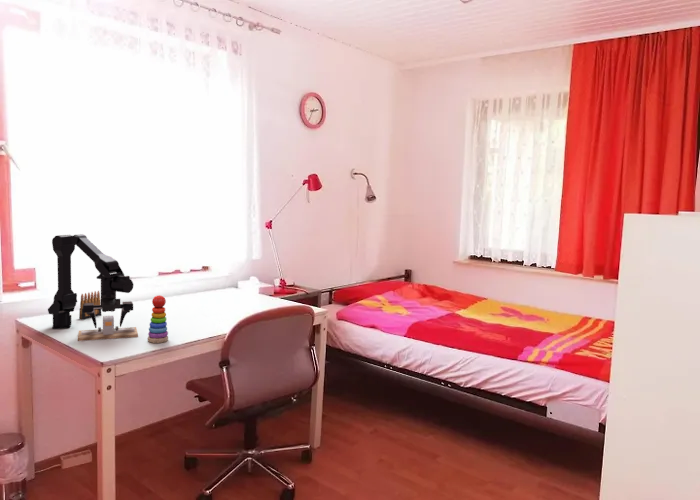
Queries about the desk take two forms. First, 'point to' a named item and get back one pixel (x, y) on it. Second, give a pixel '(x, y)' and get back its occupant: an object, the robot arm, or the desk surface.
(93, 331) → the rail base
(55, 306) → the robot arm
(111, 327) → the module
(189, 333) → the desk surface
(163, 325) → the stacking toy
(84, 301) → the ammunition clip
